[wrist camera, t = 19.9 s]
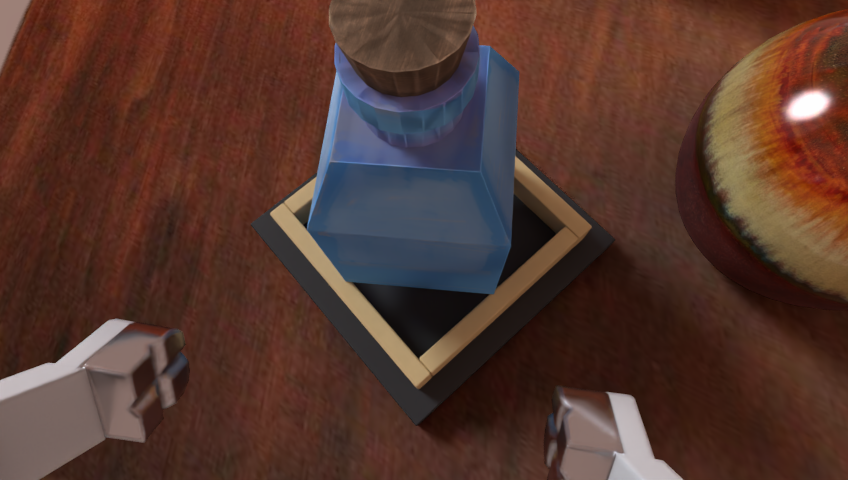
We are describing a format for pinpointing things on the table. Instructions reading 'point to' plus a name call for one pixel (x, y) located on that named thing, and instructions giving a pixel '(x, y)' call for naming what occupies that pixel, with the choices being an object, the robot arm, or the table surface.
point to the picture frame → (441, 292)
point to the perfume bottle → (416, 148)
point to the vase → (775, 168)
